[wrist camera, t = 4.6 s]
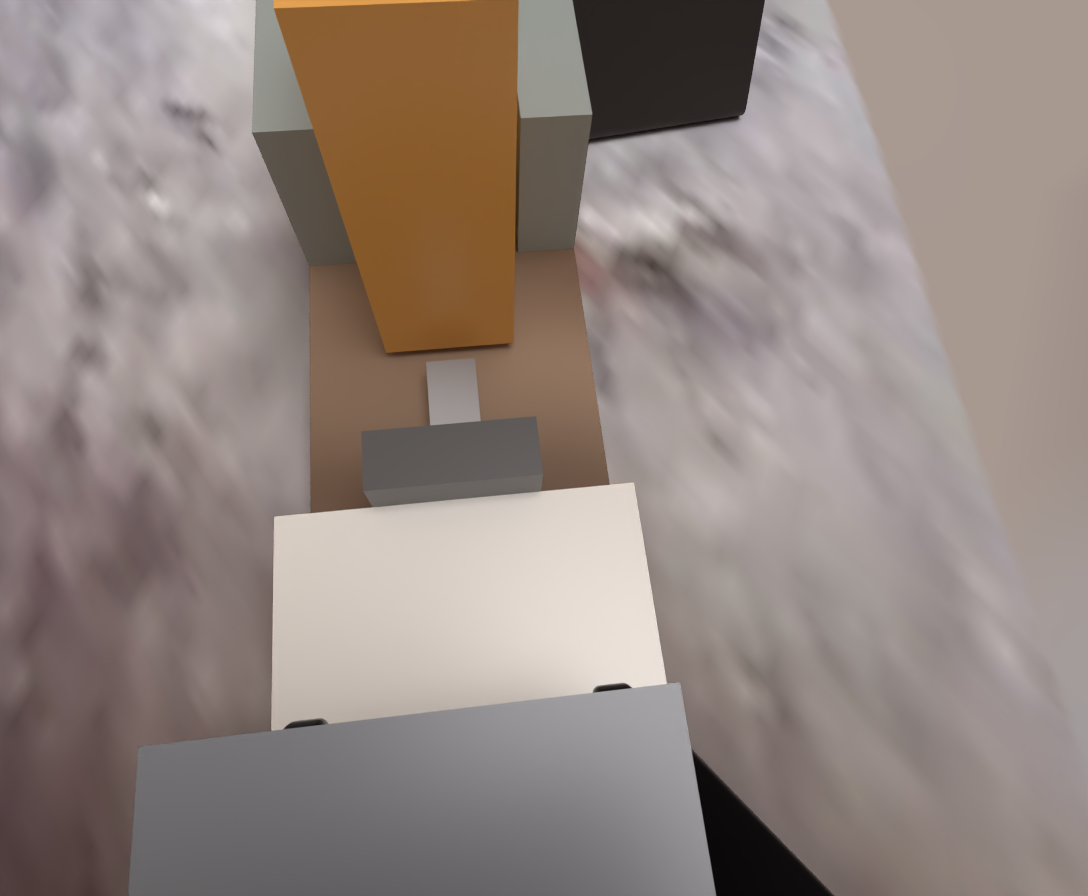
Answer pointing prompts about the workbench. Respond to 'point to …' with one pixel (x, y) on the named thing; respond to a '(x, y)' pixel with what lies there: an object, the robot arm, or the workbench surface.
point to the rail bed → (452, 379)
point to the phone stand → (666, 61)
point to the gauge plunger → (418, 155)
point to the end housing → (541, 153)
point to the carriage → (445, 700)
